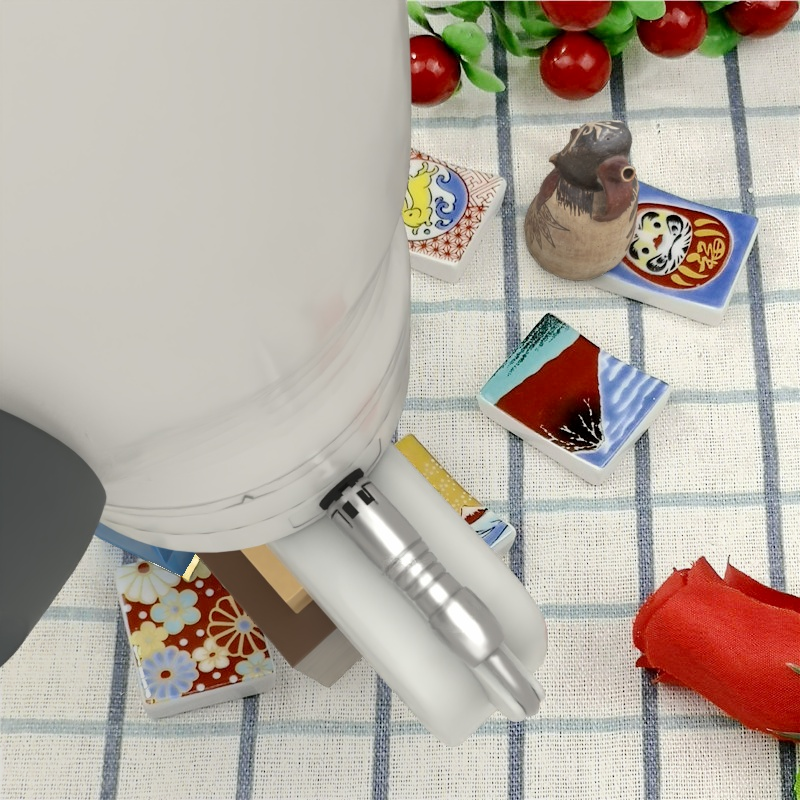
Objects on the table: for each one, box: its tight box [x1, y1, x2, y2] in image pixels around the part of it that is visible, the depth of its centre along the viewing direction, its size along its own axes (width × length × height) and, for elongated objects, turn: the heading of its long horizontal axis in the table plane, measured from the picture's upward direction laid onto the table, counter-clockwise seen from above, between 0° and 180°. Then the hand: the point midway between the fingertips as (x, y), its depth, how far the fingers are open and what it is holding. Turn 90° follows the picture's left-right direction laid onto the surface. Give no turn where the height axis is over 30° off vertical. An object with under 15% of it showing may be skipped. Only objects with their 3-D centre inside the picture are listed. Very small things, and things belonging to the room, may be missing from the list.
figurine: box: [523, 119, 640, 281], centre depth 63 cm, size 7×7×12 cm
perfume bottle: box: [94, 522, 195, 576], centre depth 57 cm, size 6×6×12 cm
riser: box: [195, 550, 364, 689], centre depth 52 cm, size 8×8×20 cm
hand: (282, 484), depth 35 cm, fingers open, 8 cm apart
